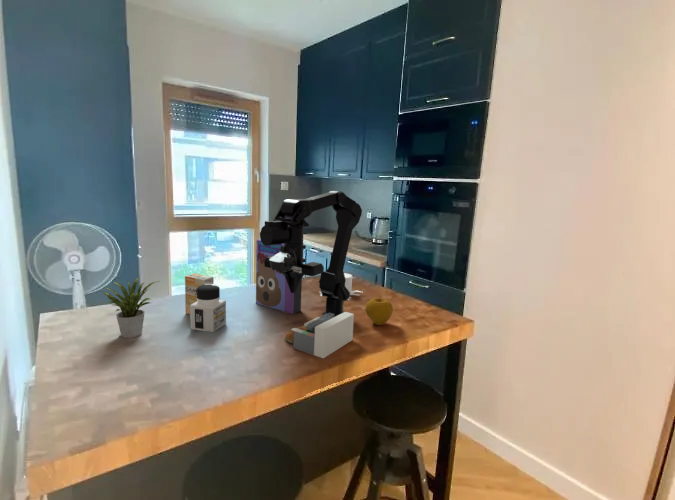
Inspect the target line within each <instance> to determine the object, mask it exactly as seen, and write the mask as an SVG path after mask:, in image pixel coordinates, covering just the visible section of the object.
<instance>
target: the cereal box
mask: <svg viewBox="0 0 675 500" xmlns="http://www.w3.org/2000/svg"><path fill="white" fill-rule="evenodd" d="M255 241H256V242H255V243H256V246H255V247H256V248H255V250H256V253H255V257H256V259H255V261H256V263H255V271H256V272H255V304H256V305H259V306H263V307H265V308H270V309H273V310H276V311H280V312H283V313H286V314H289V315H294V314H296V313H300V312H301V311H302V286H303V285H302V284H303V282H302V281H303V278H302V279H301V281H300V283H299V285H298V287H297V289H296V291H295V293H291V292H290V289H289V286H288V283H287V280H286V278H285V276H284V275H283V274H282V273H281V272H279V271H278V270H272V268H269V267H264V261H265V259H266V257H271V256H274V255H276V254H277V253H279V252H280V248H281V246H283V245H284V244H278V245H270V246H265V245H264V244H263V243H262V242H261V239H256V240H255ZM295 266H297V265H295Z"/></svg>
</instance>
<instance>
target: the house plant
mask: <svg viewBox="0 0 675 500" xmlns="http://www.w3.org/2000/svg"><path fill="white" fill-rule="evenodd" d="M139 278H140V277H137V278H136V279H135V280H134V281H133V283H132V286H131V284H130V282H129V281H128V280H126V282H127V285H128V286H127V287H128V291H127V289H126V287H125V286H124V285H123V284H120V283H119V282H117V281H113V283H114V284H116V286H117V287H118V288H120V289H121V293H122V294H123V296H122V295H121V294H120V293H118V292H116V291H115V290H114V289H111V288H109V287H106V286H104V287H103V289H104V288H105V289H107V290H110V291H111V292H112V294H115V296H114V295H112V294H110V293H107V292H103V294H104V295H105V296H106V297H107V298H108V299H109V300H110V301H108V302H106V303H105V305H107V304H110V303H112V306H114V307H115V306H116V307H118V308H117V309H116V310H115V311H114V312H118V311H120V312H118V313H116V315H115V316H116V319H117V324H118V328H119V332H120V335H121V337H122V338H125V339H128V338H130V339H131V338H136V337H138V336H141V335H142V334H143V328H144V320H145V314H146V313H145V310H143V309H140V308H141V307H143V306H145V305H148V304H151V302H149V300H151V298H150V297H146V298H144V299H142V300H141V298H142V297H143V296H144V295H145V293H146V292H147V291H148V290H149V288H150V286H152V285H153V284H155V283H159V282H160V280H158V281H157V280H156V281H153V282H150V283H149V284H148V285H145V286H144V288H143V285H144V284H145V282H142V283H140V284H139V286H138V288H137V285H138V283H139ZM136 288H137V289H136ZM142 288H143V289H142ZM116 297H117V298H116ZM118 298H119V299H118Z"/></svg>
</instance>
